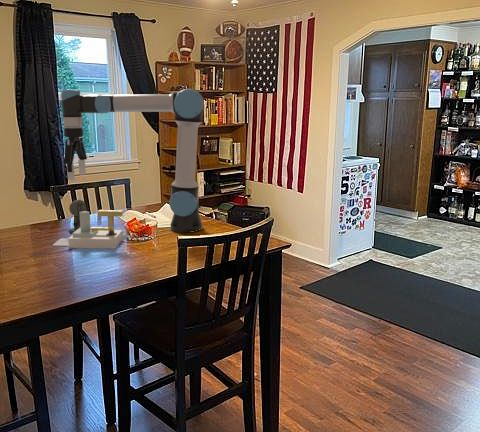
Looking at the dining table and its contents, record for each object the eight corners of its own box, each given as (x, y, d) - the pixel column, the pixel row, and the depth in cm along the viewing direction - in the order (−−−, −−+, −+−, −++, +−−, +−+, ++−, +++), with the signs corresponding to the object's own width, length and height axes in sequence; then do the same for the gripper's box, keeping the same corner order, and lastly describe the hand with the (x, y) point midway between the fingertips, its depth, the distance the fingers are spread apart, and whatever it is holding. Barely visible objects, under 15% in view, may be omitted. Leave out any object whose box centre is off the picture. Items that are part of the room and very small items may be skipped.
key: (123, 233, 202) (122, 210, 199) (122, 234, 200) (121, 211, 197) (92, 232, 202) (91, 209, 199) (90, 234, 200) (89, 211, 197)
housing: (123, 238, 209) (122, 229, 208) (114, 248, 195) (114, 239, 194) (80, 237, 209) (79, 228, 208) (68, 247, 195) (68, 238, 194)
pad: (78, 239, 207) (78, 238, 207) (70, 246, 197) (69, 245, 197) (61, 238, 207) (61, 238, 207) (52, 245, 197) (52, 245, 197)
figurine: (86, 234, 214) (84, 202, 210) (64, 233, 214) (62, 201, 211) (92, 229, 222) (90, 198, 219) (71, 228, 223) (69, 197, 219)
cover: (98, 231, 205) (97, 209, 203) (91, 237, 196) (90, 215, 194) (80, 230, 205) (78, 209, 203) (72, 236, 196) (71, 214, 194)
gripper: (75, 125, 212) (78, 172, 217) (52, 129, 187) (57, 181, 193) (91, 125, 211) (94, 172, 217) (71, 129, 187) (75, 182, 192)
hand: (77, 177), depth 205 cm, fingers open, 13 cm apart
